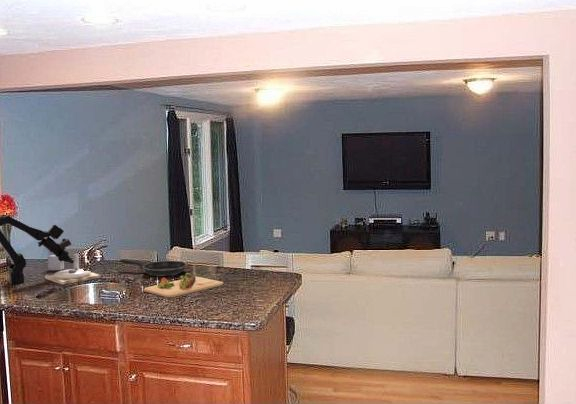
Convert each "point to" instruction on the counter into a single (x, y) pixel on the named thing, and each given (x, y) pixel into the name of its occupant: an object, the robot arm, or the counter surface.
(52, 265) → the medicine box
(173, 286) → the cutting board
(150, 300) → the counter surface
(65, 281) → the dial base
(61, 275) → the white base with post
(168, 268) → the frying pan
